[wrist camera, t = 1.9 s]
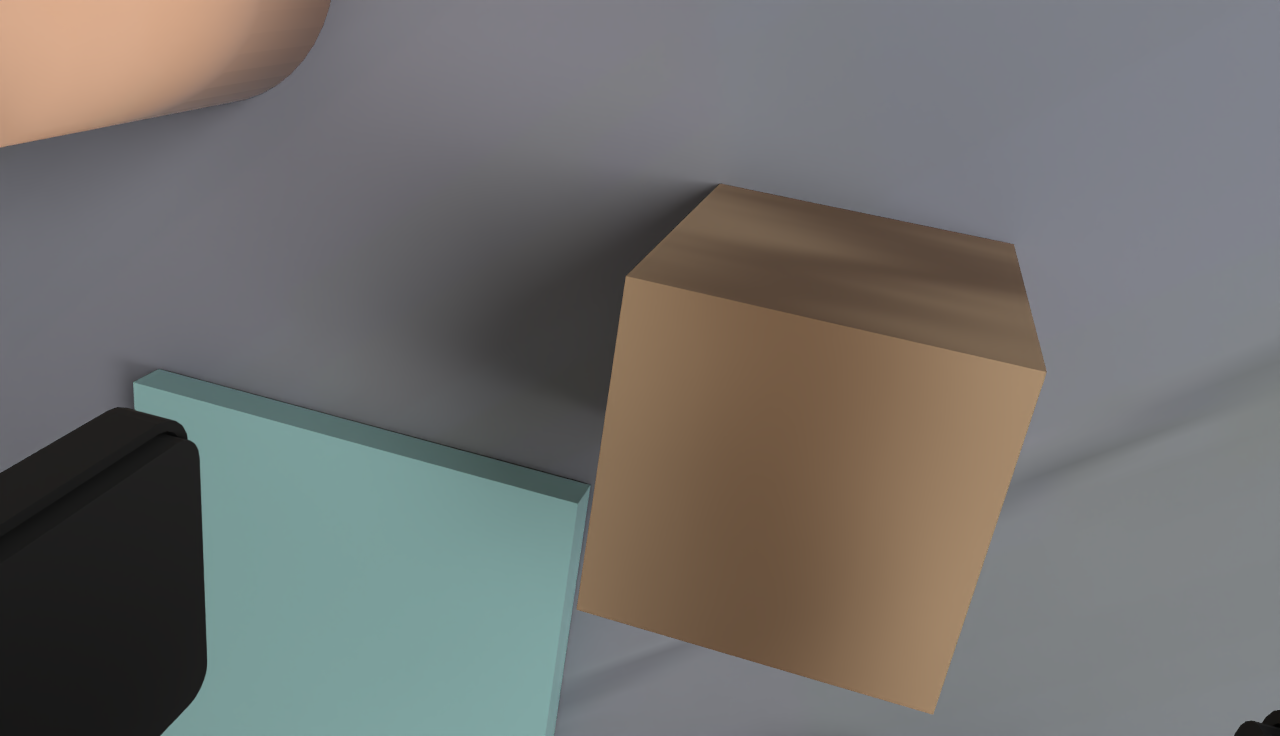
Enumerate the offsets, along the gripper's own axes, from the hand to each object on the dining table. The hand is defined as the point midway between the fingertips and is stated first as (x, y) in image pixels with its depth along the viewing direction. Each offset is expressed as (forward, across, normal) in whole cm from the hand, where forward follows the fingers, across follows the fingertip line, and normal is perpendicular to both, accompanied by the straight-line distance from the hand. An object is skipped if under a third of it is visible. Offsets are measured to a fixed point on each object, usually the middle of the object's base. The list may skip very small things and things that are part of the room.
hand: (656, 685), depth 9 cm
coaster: (+10, +8, +9) cm, 16 cm away
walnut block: (+10, -1, 0) cm, 10 cm away
